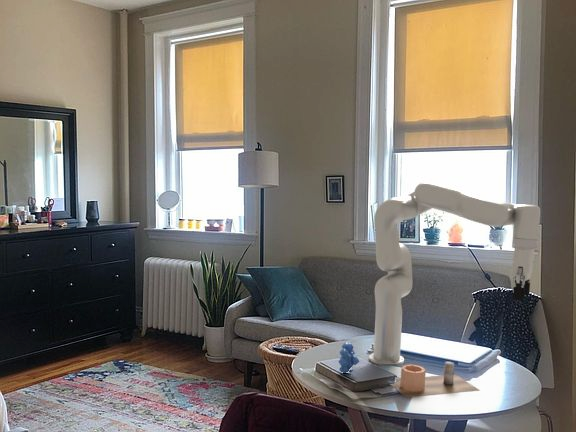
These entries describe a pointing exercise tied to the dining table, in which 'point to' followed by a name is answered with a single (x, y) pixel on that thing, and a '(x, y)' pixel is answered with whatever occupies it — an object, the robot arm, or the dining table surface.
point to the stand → (439, 384)
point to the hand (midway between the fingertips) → (521, 296)
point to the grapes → (347, 357)
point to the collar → (413, 378)
